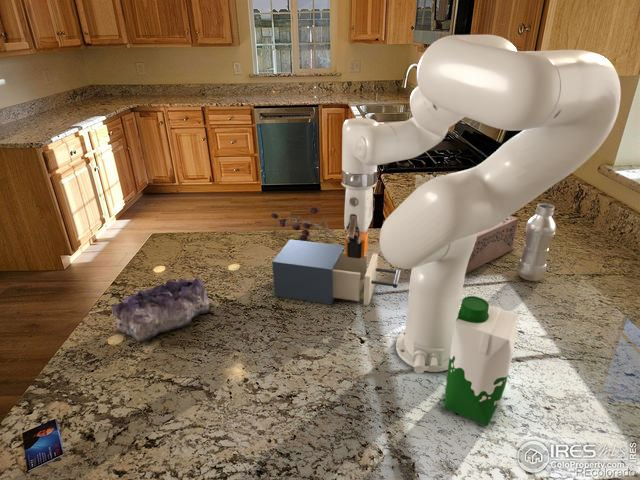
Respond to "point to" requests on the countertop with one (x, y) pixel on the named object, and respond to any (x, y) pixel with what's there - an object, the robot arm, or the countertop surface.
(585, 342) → the countertop surface
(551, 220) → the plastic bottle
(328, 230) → the decorative branch
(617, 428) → the countertop surface
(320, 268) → the blue cabinet body
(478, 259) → the tissue box cover
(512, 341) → the milk carton
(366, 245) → the orange foam cube
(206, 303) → the geode
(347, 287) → the cabinet drawer
